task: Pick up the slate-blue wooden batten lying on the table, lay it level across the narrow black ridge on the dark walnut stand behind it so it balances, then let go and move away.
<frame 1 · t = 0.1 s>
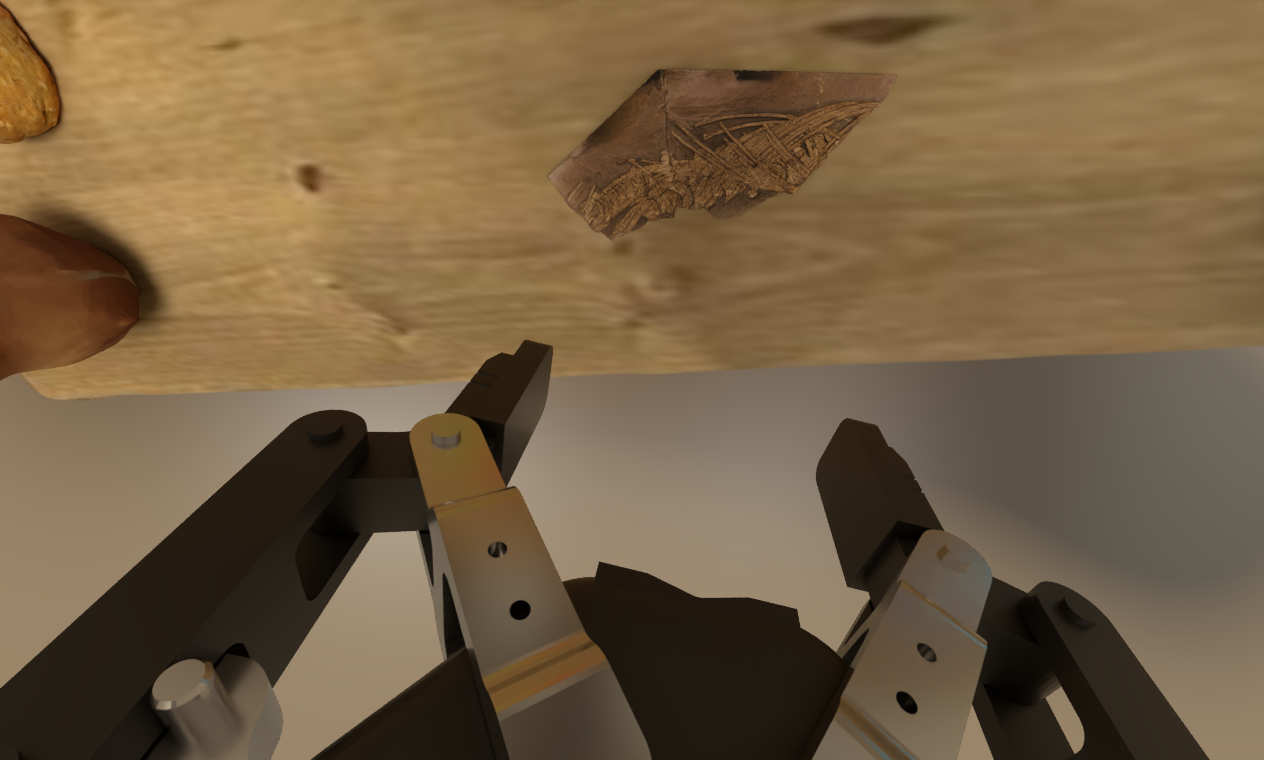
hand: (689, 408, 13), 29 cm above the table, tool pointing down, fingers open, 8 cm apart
butternut squash: (109, 269, 48), on the table
wooden fragment: (709, 143, 36), on the table
bagel: (9, 69, 39), on the table
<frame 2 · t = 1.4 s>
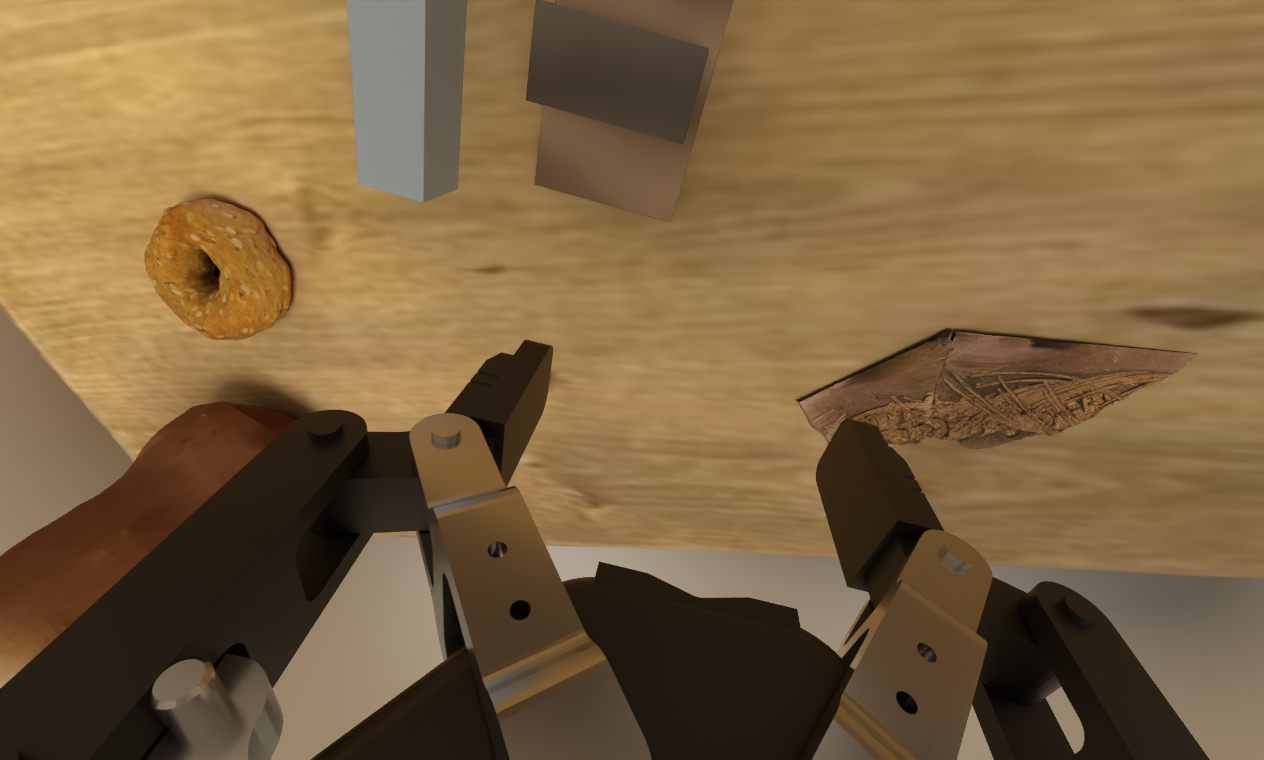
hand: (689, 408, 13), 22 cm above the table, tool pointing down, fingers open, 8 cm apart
ridge stand: (631, 77, 28), on the table
butternut squash: (296, 431, 47), on the table
wooden fragment: (975, 386, 36), on the table
bagel: (243, 262, 38), on the table
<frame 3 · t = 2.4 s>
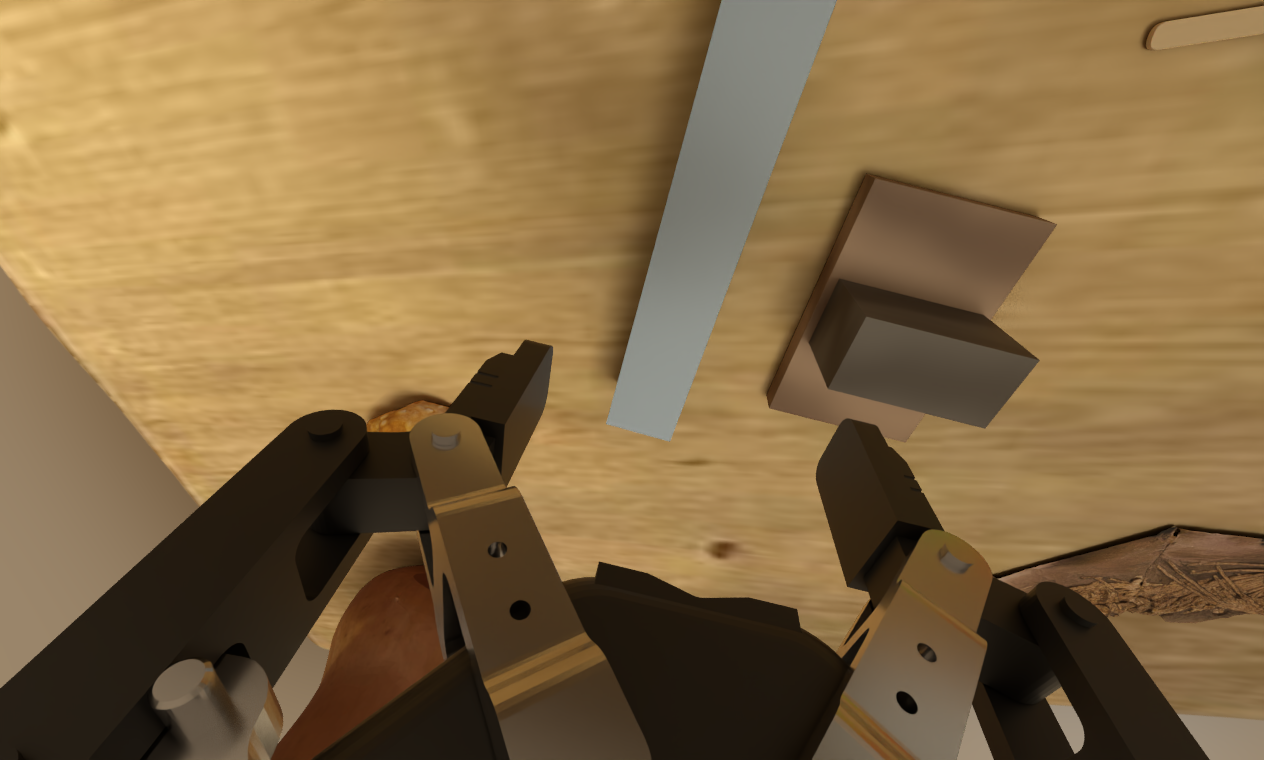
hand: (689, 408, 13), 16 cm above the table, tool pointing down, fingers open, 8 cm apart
ridge stand: (884, 318, 28), on the table
butternut squash: (452, 580, 48), on the table
wooden fragment: (1185, 568, 35), on the table
bagel: (434, 445, 38), on the table
batten: (695, 233, 27), on the table
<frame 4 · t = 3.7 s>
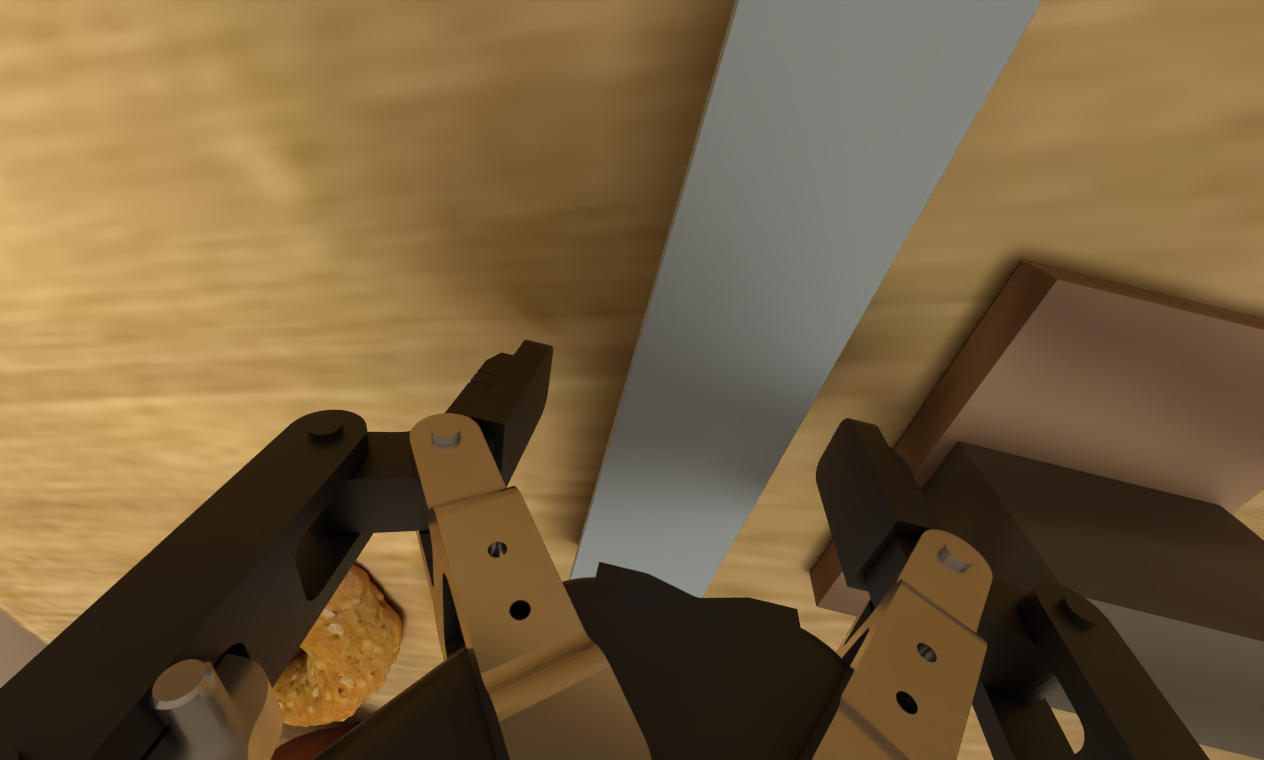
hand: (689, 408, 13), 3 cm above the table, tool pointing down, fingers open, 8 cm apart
ridge stand: (1017, 484, 16), on the table
butternut squash: (382, 736, 36), on the table
bagel: (331, 597, 27), on the table
batten: (698, 347, 16), on the table
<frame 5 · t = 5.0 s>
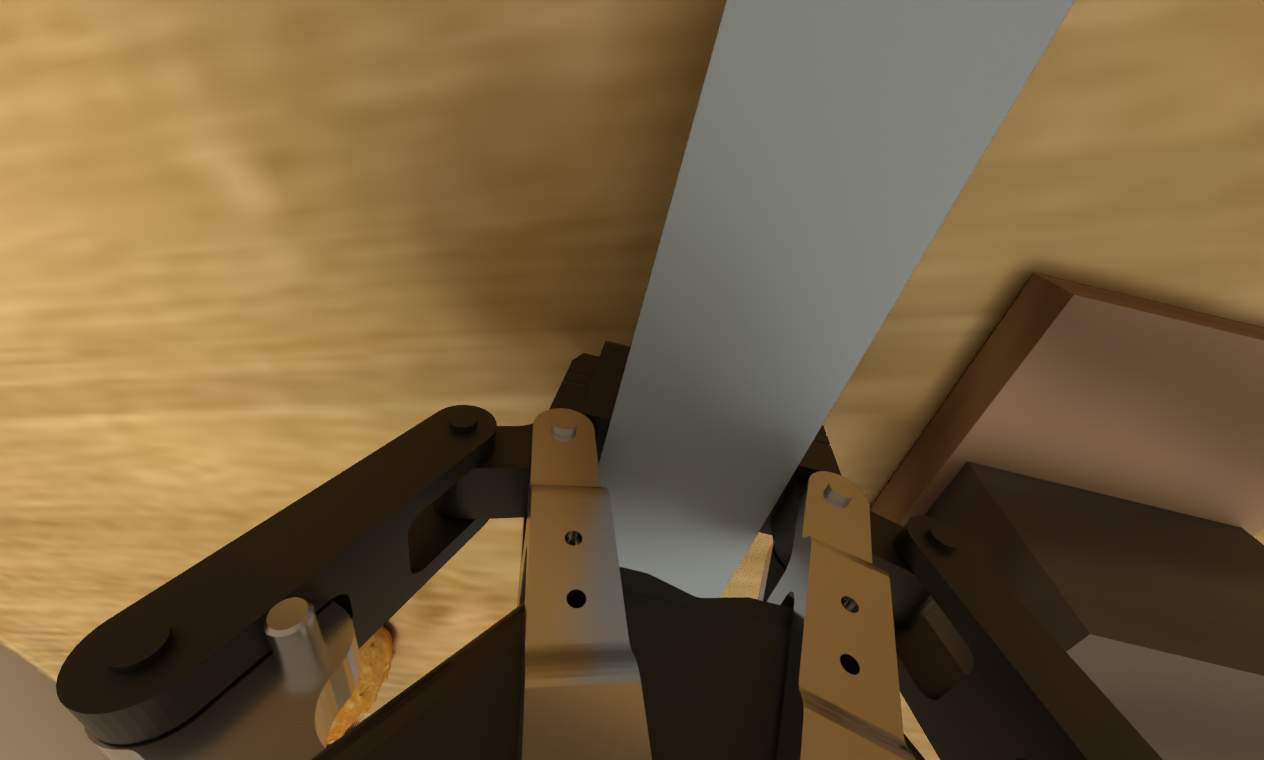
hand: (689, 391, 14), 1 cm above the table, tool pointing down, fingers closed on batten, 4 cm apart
ridge stand: (1027, 503, 16), on the table
bagel: (319, 613, 26), on the table
batten: (691, 369, 15), on the table, touching gripper
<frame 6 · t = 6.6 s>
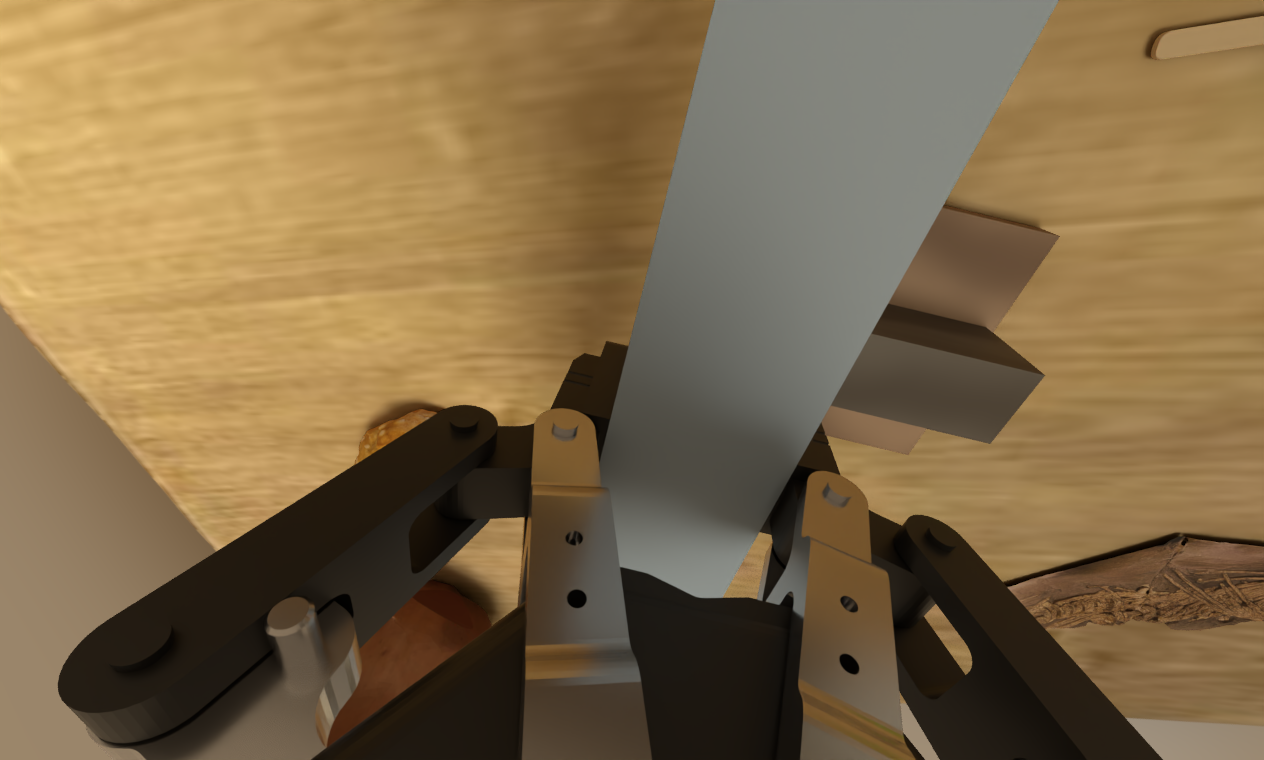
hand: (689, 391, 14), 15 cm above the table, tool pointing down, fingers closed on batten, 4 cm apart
ridge stand: (885, 330, 27), on the table
butternut squash: (450, 595, 47), on the table
wooden fragment: (1191, 576, 35), on the table
bagel: (434, 454, 37), on the table
batten: (691, 368, 15), point 13 cm above the table, touching gripper
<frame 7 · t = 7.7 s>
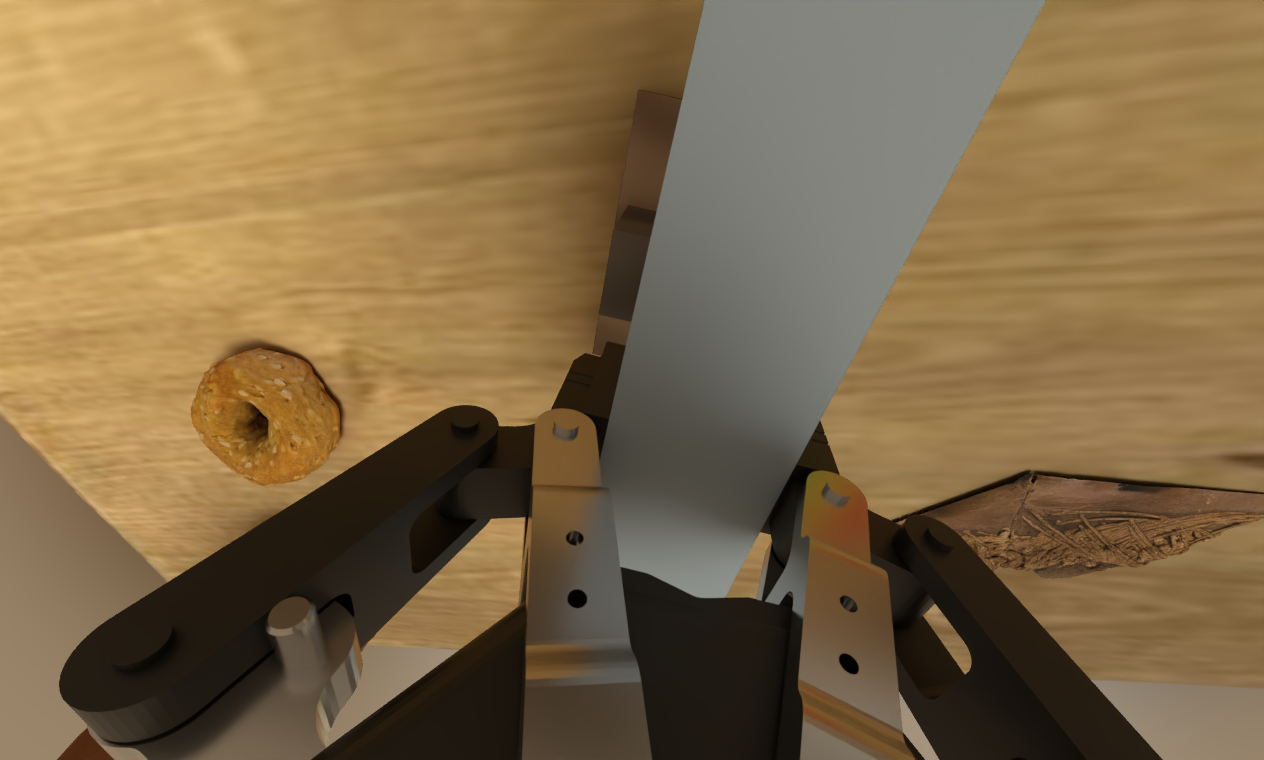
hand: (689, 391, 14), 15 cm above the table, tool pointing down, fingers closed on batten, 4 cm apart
ridge stand: (694, 252, 26), on the table
butternut squash: (335, 557, 46), on the table
wooden fragment: (1053, 519, 34), on the table
bagel: (289, 400, 36), on the table
batten: (691, 368, 15), point 14 cm above the table, touching gripper
when the fingers open (8 cm above the table, at t = 9.4 s): batten stays where it is, resting on ridge stand.
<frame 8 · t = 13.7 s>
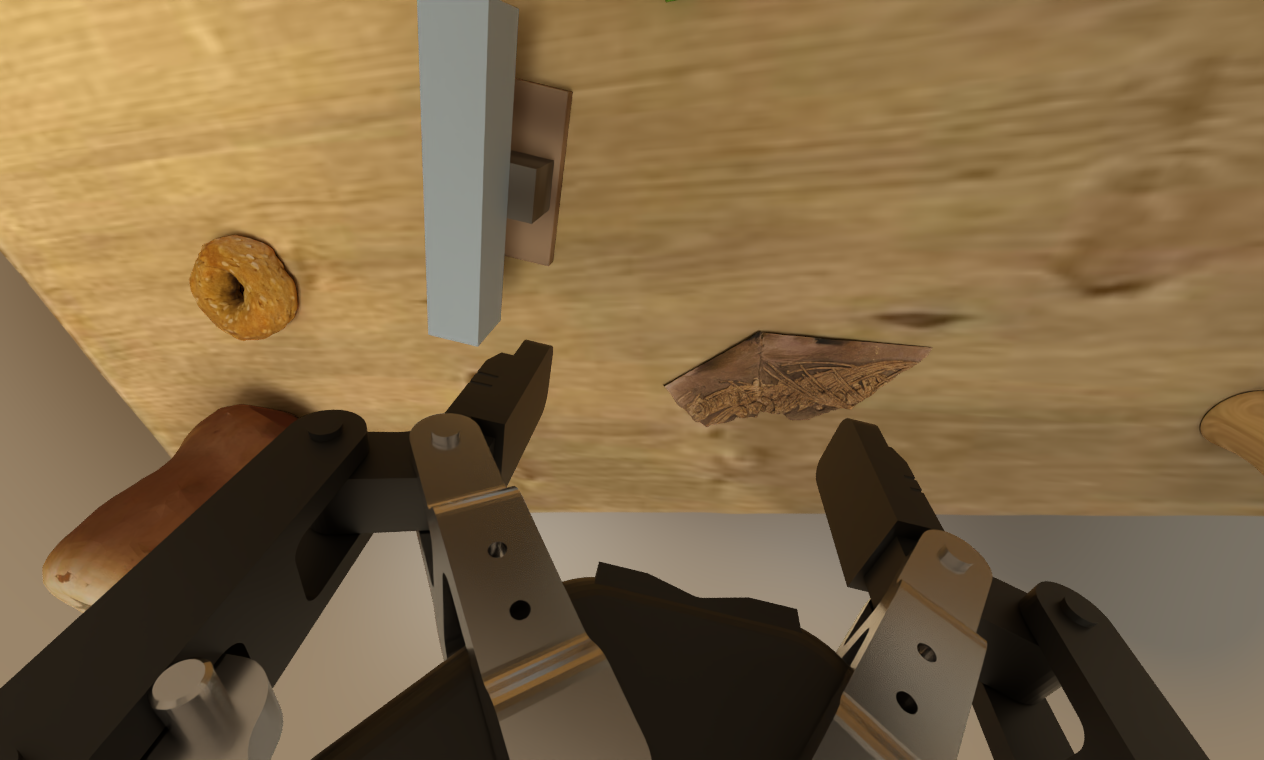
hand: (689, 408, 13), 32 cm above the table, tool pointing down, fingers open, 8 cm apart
ridge stand: (511, 172, 41), on the table
butternut squash: (297, 427, 61), on the table
wooden fragment: (789, 372, 48), on the table
beer glass: (1238, 416, 45), on the table
bagel: (260, 281, 50), on the table
batten: (482, 184, 35), point 6 cm above the table, touching ridge stand
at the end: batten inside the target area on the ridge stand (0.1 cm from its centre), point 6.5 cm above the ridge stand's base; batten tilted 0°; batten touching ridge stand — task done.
